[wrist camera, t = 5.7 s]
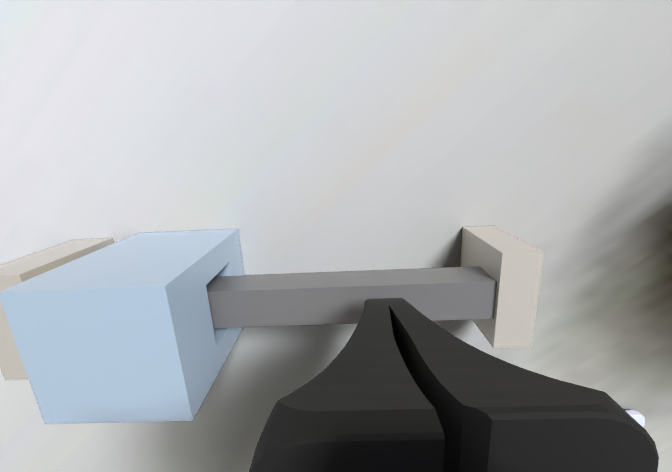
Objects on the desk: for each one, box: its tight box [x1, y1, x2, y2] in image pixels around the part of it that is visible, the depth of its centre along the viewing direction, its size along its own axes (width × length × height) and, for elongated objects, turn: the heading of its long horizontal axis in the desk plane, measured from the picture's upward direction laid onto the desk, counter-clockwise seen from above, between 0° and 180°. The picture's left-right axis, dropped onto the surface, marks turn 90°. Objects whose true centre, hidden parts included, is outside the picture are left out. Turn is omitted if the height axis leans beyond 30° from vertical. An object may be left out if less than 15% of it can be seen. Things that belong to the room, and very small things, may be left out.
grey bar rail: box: [0, 226, 544, 380], centre depth 14 cm, size 21×4×5 cm, turn 93°
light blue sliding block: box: [0, 229, 244, 424], centre depth 13 cm, size 5×5×7 cm
